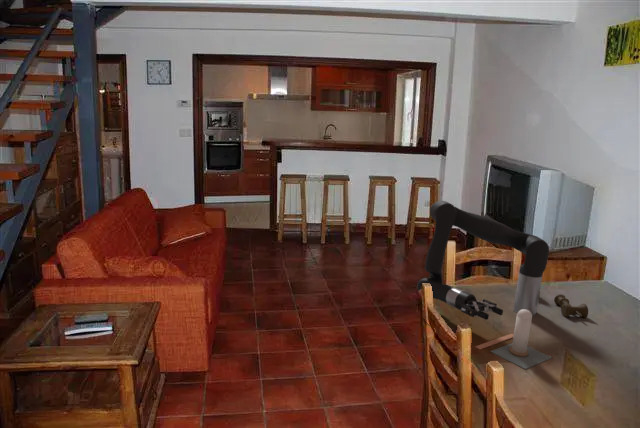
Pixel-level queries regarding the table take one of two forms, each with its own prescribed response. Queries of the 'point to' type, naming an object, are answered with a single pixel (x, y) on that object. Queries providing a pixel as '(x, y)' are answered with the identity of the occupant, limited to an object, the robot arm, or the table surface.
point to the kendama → (570, 307)
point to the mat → (523, 362)
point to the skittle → (521, 334)
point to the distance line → (495, 341)
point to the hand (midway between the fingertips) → (495, 315)
